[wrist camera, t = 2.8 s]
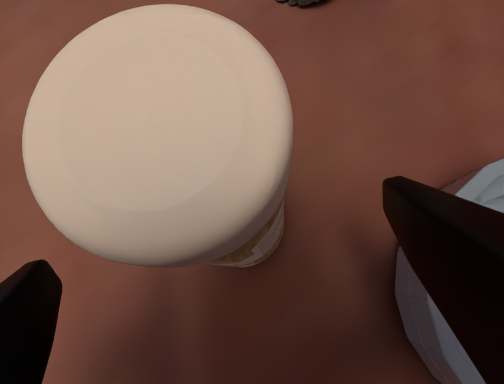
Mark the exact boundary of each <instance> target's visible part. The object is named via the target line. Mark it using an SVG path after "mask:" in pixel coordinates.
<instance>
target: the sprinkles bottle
mask: <svg viewBox="0 0 504 384" xmlns="http://www.w3.org/2000/svg"><path fill="white" fill-rule="evenodd" d="M22 151H23V160H24V166H25V171H26V175H27V179H28V182H29V185H30V188H31V190H32V192H33V194H34V197H35V199H36V201H37V202H38V204H39V206H40V207H41V209H42V210H43V212H44V213H45V215H46V216H47V218H48V219H49V220H50V221H51V222H52V223H53V225H54V226H55V227H56V228H57V229H58V230H59V231H60V232H61V233H62V234H63V235H64V236H66V237H67V238H68V239H70V240H71V241H72V242H73V243H75V244H76V245H78V246H80V247H82V248H83V249H85V250H87V251H89V252H91V253H93V254H95V255H98V256H100V257H103V258H106V259H109V260H112V261H116V262H120V263H125V264H131V265H139V266H147V267H188V266H195V265H200V264H204V263H208V264H213V265H222V266H230V267H240V268H243V267H250V266H253V265H256V264H258V263H260V262H262V261H264V260H265V259H267V258H268V257H269V256H270V255H271V254H272V253H273V252H274V251H275V250H276V249H277V247H278V246H279V243H280V240H281V238H282V236H283V232H284V225H285V223H284V192H285V190H286V187H287V184H288V181H289V176H290V171H291V164H292V154H293V116H292V109H291V102H290V98H289V94H288V91H287V87H286V84H285V82H284V79H283V77H282V75H281V72H280V70H279V69H278V67H277V65H276V63H275V62H274V60H273V58H272V56H271V55H270V54H269V53H268V52H267V50H266V49H265V48H264V47H263V46H262V44H261V43H260V42H259V41H258V40H257V39H255V38H254V37H253V36H252V35H251V34H250V33H249V32H247V31H246V30H245V29H244V28H242V27H241V26H240V25H238V24H237V23H235V22H233V21H231V20H229V19H227V18H225V17H223V16H221V15H219V14H216V13H214V12H211V11H208V10H205V9H201V8H197V7H192V6H186V5H176V4H163V5H147V6H142V7H137V8H133V9H129V10H125V11H122V12H119V13H117V14H114V15H112V16H110V17H107V18H105V19H103V20H101V21H99V22H98V23H96V24H94V25H92V26H91V27H89V28H88V29H86V30H85V31H83V32H82V33H80V34H79V35H77V36H76V37H75V38H74V39H73V40H71V41H70V42H69V43H68V44H67V45H66V46H65V47H64V48H63V49H62V50H61V51H60V52H59V53H58V54H57V55H56V57H55V58H54V59H53V60H52V62H51V63H50V64H49V66H48V67H47V69H46V70H45V72H44V73H43V75H42V76H41V78H40V80H39V82H38V84H37V86H36V88H35V90H34V93H33V95H32V97H31V100H30V103H29V106H28V109H27V113H26V117H25V121H24V128H23V136H22Z"/></svg>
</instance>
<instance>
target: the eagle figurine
mask: <svg viewBox="0 0 504 384" xmlns="http://www.w3.org/2000/svg"><path fill="white" fill-rule="evenodd" d="M277 1H286V0H277ZM318 1H320V0H289V4H290V5H294V4H296V3H299V5H301V6H304V5H307V4H311V3H313V2H318Z"/></svg>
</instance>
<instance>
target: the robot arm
mask: <svg viewBox="0 0 504 384" xmlns="http://www.w3.org/2000/svg"><path fill="white" fill-rule="evenodd" d="M383 209H384V212H385V215H386V217H387V219H388V221H389V223H390V225H391V228H392V230H393V232H394V234H395V236H396V238H397V240H398V242H399V244H400V246H401V248H402V251H403V253H404V255H405V257H406V259H407V261H408V262H409V264H410V266H411V267H412V269H413V271H414V272H415V274H416V275H417V277H418V278H419V280H420V282H421V283H422V285H423V286H424V288H425V289H426V291H427V293H428V294H429V296H430V297H431V299H432V300H433V302H434V303H435V305H436V307H437V308H438V310H439V311H440V313H441V314H442V316H443V318H444V319H445V321H446V322H447V324H448V325H449V327H450V328H451V330H452V332H453V333H454V335H455V336H456V338H457V339H458V341H459V343H460V344H461V346H462V347H463V349H464V350H465V352H466V353H467V355H468V357H469V358H470V360H471V361H472V363H473V364H474V366H475V368H476V369H477V371H478V372H479V374H480V375H481V377H482V378H483V380H484V382H485V383H486V384H504V213H502V212H500V211H497V210H494V209H491V208H489V207H486V206H483V205H480V204H477V203H475V202H472V201H469V200H466V199H463V198H461V197H458V196H455V195H452V194H450V193H447V192H444V191H441V190H438V189H436V188H433V187H430V186H427V185H425V184H422V183H419V182H416V181H413V180H411V179H408V178H405V177H402V176H395V177H391V178H387V179H385V180H384V181H383ZM61 295H62V282H61V280H60V278H59V277H58V276H57V274H56V273H55V271H54V270H53V269H52V267H51V266H50V265H49V263H48V262H47V261H45V260H37V261H32V262H28V263H26V264H25V265H24V266H22V267H21V268H20V269H18V270H17V271H16V272H14V273H13V274H12V275H11V276H9V277H8V278H7V279H5V280H4V281H3V282H1V283H0V384H42V381H43V377H44V374H45V370H46V367H47V363H48V360H49V356H50V353H51V349H52V345H53V340H54V335H55V330H56V324H57V318H58V312H59V306H60V300H61Z"/></svg>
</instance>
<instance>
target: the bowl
mask: <svg viewBox="0 0 504 384" xmlns="http://www.w3.org/2000/svg"><path fill="white" fill-rule="evenodd" d="M441 191H444V192H447V193H450V194H452V195H455V196H458V197H461V198H463V199H466V200H469V201H472V202H475V203H477V204H480V205H483V206H486V207H489V208H491V209H494V210H497V211H500V212H502V213H504V158H503V159H501V160H498V161H496V162H493V163H491V164H488V165H486V166H484V167H482V168H480V169H478V170H476V171H474V172H472V173H470V174H468V175H466V176H465V177H463V178H461V179H459V180H457V181H455V182H453V183H451V184H449V185H447V186H445V187H444V188H442V189H441ZM395 297H396V300H397V304H398V307H399V311H400V314H401V318H402V321H403V325H404V328H405V332H406V336H407V337H408V339H409V341H410V342H411V344H412V345H413V347H414V348H415V350H416V351H417V353H418V354H419V356H420V357H421V359H422V360H423V362H424V363H425V365H426V366H427V368H428V369H429V370H430V372H431V373H432V375H433V376H434V377H435V378H436V380H438V381H439V382H440V383H441V384H486V383H485V382H484V380H483V378H482V377H481V375H480V374H479V372H478V371H477V369H476V368H475V366H474V364H473V363H472V361H471V360H470V358H469V357H468V355H467V353H466V352H465V350H464V349H463V347H462V346H461V344H460V343H459V341H458V339H457V338H456V336H455V335H454V333H453V332H452V330H451V328H450V327H449V325H448V324H447V322H446V321H445V319H444V318H443V316H442V314H441V313H440V311H439V310H438V308H437V307H436V305H435V303H434V302H433V300H432V299H431V297H430V296H429V294H428V293H427V291H426V289H425V288H424V286H423V285H422V283H421V282H420V280H419V278H418V277H417V275H416V274H415V272H414V271H413V269H412V267H411V266H410V264H409V262H408V261H407V259H406V257H405V255H404V253H403V251H402V248H401V246H399V248H398V252H397V266H396V281H395Z"/></svg>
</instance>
